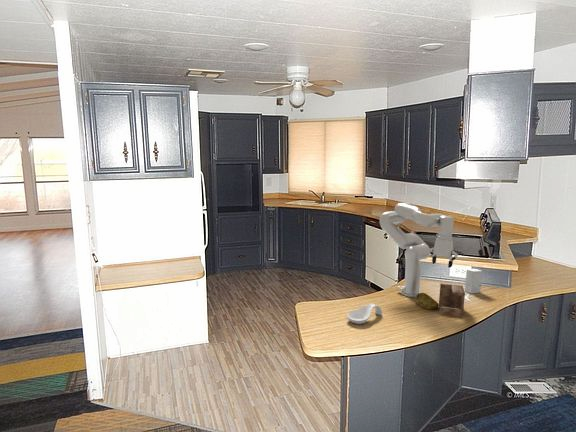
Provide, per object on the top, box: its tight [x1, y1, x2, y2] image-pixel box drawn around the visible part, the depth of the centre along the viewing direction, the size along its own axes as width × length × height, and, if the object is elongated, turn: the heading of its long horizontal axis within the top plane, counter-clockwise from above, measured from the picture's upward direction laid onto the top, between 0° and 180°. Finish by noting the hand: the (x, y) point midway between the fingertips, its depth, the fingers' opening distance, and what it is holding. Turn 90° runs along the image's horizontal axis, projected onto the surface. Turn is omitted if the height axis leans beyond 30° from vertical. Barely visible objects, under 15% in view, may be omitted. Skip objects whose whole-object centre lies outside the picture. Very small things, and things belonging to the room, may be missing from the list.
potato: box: [415, 292, 440, 311], centre depth 245 cm, size 8×13×8 cm, turn 29°
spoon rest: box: [346, 303, 383, 325], centre depth 227 cm, size 24×12×7 cm, turn 130°
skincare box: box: [464, 268, 483, 294], centre depth 275 cm, size 8×6×15 cm
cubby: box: [438, 282, 466, 318], centre depth 241 cm, size 12×14×14 cm
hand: (441, 265), depth 248 cm, fingers open, 9 cm apart
